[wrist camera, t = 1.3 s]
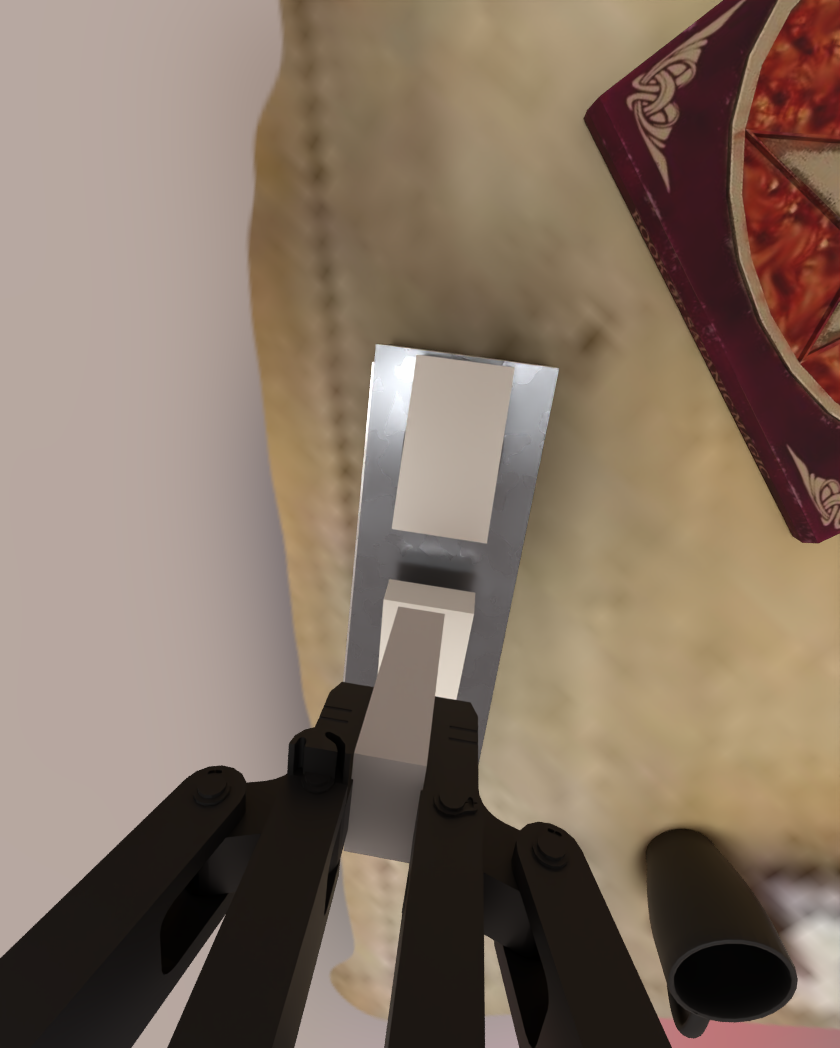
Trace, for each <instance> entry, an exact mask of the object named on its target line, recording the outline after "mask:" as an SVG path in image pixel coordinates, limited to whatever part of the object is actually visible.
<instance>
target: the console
mask: <svg viewBox="0 0 840 1048" xmlns="http://www.w3.org/2000/svg"><path fill="white" fill-rule="evenodd" d="M416 354H417V355H425V356H432V357H440V358H447V359H454V360H462V361H469V362H477V363H484V364H492V365H499V366H506V367H514V368H515V369H514V375H513V382H512V388H511V394H510V401H509V407H508V413H507V419H506V426H505V432H504V444H503V452H502V458H501V464H500V469H499V474H498V478H497V482H496V488H495V495H494V501H493V507H492V513H491V520H490V526H489V532H488V538H487V544H486V543H479V542H473V541H466V540H460V539H453V538H447V537H440V536H434V535H427V534H421V533H414V532H408V531H401V530H395V529H392V523H393V516H394V509H395V502H396V495H397V488H398V481H399V474H400V467H401V456H402V447H403V440H404V434H405V429H406V425H407V418H408V411H409V404H410V397H411V390H412V383H413V376H414V369H415V361H416ZM558 372H559V368H555V367H551V366H548V365H541V364H533V363H526V362H518V361H511V360H503V359H496V358H488V357H481V356H473V355H466V354H458V353H451V352H443V351H436V350H429V349H421V348H414V347H406V346H399V345H391V344H376V351H375V362H372V372H371V382H370V393H369V404H368V415H367V426H366V437H365V448H364V459H363V470H362V481H361V492H360V503H359V514H358V525H357V535H356V546H355V557H354V568H353V579H352V590H351V601H350V612H349V623H348V634H347V645H346V656H345V667H344V677H343V682H347V683H353V684H358V685H364V686H370V687H374V685H375V682H376V679H377V676H378V664H379V646H380V639H381V626H382V613H383V600H384V596H385V593H386V589H387V586H388V582H389V579H392V580H398V581H405V582H411V583H417V584H424V585H430V586H436V587H442V588H449V589H455V590H461V591H468V592H474V593H475V607H474V617H473V622H472V626H471V631H470V636H469V641H468V647H467V654H466V660H465V665H464V669H463V670H462V675H461V680H460V685H459V690H458V694H457V699H456V700H460V701H466V702H471V704H472V706H473V708H474V710H475V712H476V713H477V715H478V764H479V759H480V754H481V749H482V744H483V739H484V734H485V729H486V725H487V720H488V715H489V710H490V705H491V700H492V695H493V690H494V685H495V680H496V676H497V671H498V666H499V661H500V656H501V651H502V646H503V641H504V636H505V631H506V627H507V622H508V617H509V612H510V607H511V602H512V597H513V592H514V587H515V582H516V578H517V573H518V568H519V563H520V558H521V553H522V548H523V543H524V538H525V533H526V529H527V524H528V519H529V514H530V509H531V504H532V499H533V494H534V489H535V484H536V480H537V475H538V470H539V465H540V460H541V455H542V450H543V445H544V440H545V435H546V431H547V426H548V421H549V416H550V411H551V406H552V401H553V396H554V391H555V386H556V382H557V377H558Z"/></svg>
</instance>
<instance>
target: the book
mask: <svg viewBox="0 0 840 1048" xmlns="http://www.w3.org/2000/svg"><path fill="white" fill-rule="evenodd" d="M584 120H585V122H586V124H587V126H588V128H589V130H590V132H591V134H592V136H593V138H594V140H595V142H596V144H597V146H598V148H599V150H600V152H601V154H602V156H603V158H604V160H605V162H606V164H607V166H608V168H609V170H610V172H611V174H612V176H613V178H614V180H615V182H616V184H617V186H618V188H619V190H620V192H621V194H622V196H623V198H624V200H625V202H626V204H627V206H628V208H629V210H630V212H631V214H632V216H633V218H634V220H635V222H636V224H637V226H638V228H639V230H640V232H641V234H642V236H643V238H644V240H645V242H646V244H647V246H648V248H649V250H650V252H651V254H652V256H653V258H654V260H655V262H656V264H657V266H658V268H659V270H660V272H661V274H662V276H663V278H664V280H665V282H666V284H667V286H668V288H669V290H670V292H671V294H672V296H673V298H674V300H675V302H676V304H677V306H678V308H679V310H680V312H681V314H682V316H683V318H684V320H685V322H686V324H687V326H688V328H689V330H690V332H691V334H692V336H693V338H694V340H695V342H696V344H697V346H698V348H699V350H700V352H701V354H702V356H703V358H704V360H705V362H706V364H707V365H708V367H709V369H710V371H711V373H712V375H713V377H714V379H715V381H716V383H717V385H718V387H719V389H720V391H721V393H722V395H723V397H724V399H725V401H726V403H727V405H728V407H729V409H730V411H731V413H732V415H733V417H734V419H735V421H736V423H737V425H738V427H739V429H740V431H741V433H742V435H743V437H744V439H745V441H746V443H747V445H748V447H749V449H750V451H751V453H752V455H753V457H754V459H755V461H756V463H757V465H758V467H759V469H760V471H761V473H762V475H763V477H764V479H765V481H766V483H767V485H768V487H769V489H770V491H771V493H772V495H773V497H774V499H775V501H776V503H777V505H778V507H779V509H780V511H781V513H782V515H783V517H784V519H785V521H786V523H787V525H788V527H789V529H790V531H791V533H792V535H793V537H795V538H796V539H798V540H799V541H801V542H802V543H820V542H822V541H824V540H826V539H829V538H831V537H833V536H835V535H837V534H840V0H723V1H722V2H720V3H719V4H718V5H717V6H715V7H714V8H713V9H711V10H710V11H709V12H708V13H706V14H705V15H704V16H702V17H701V18H700V19H699V20H697V21H696V22H695V23H693V24H692V25H691V26H690V27H688V28H687V29H686V30H684V31H683V32H682V33H681V34H679V35H678V36H677V37H675V38H674V39H673V40H672V41H670V42H669V43H668V44H666V45H665V46H664V47H663V48H661V49H660V50H659V51H657V52H656V53H655V54H654V55H652V56H651V57H650V58H648V59H647V60H646V61H645V62H643V63H642V64H641V65H639V66H638V67H637V68H636V69H634V70H633V71H632V72H630V73H629V74H628V75H627V76H625V77H624V78H623V79H621V80H620V81H619V82H618V83H616V84H615V85H614V86H612V87H611V88H610V89H609V90H607V91H606V92H605V93H603V94H602V95H601V96H600V97H599V98H598V99H597V100H596V101H595V102H594V103H593V104H592V105H591V107H590V108H589V109H588V110H587V112H586V114H585V117H584Z"/></svg>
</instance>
